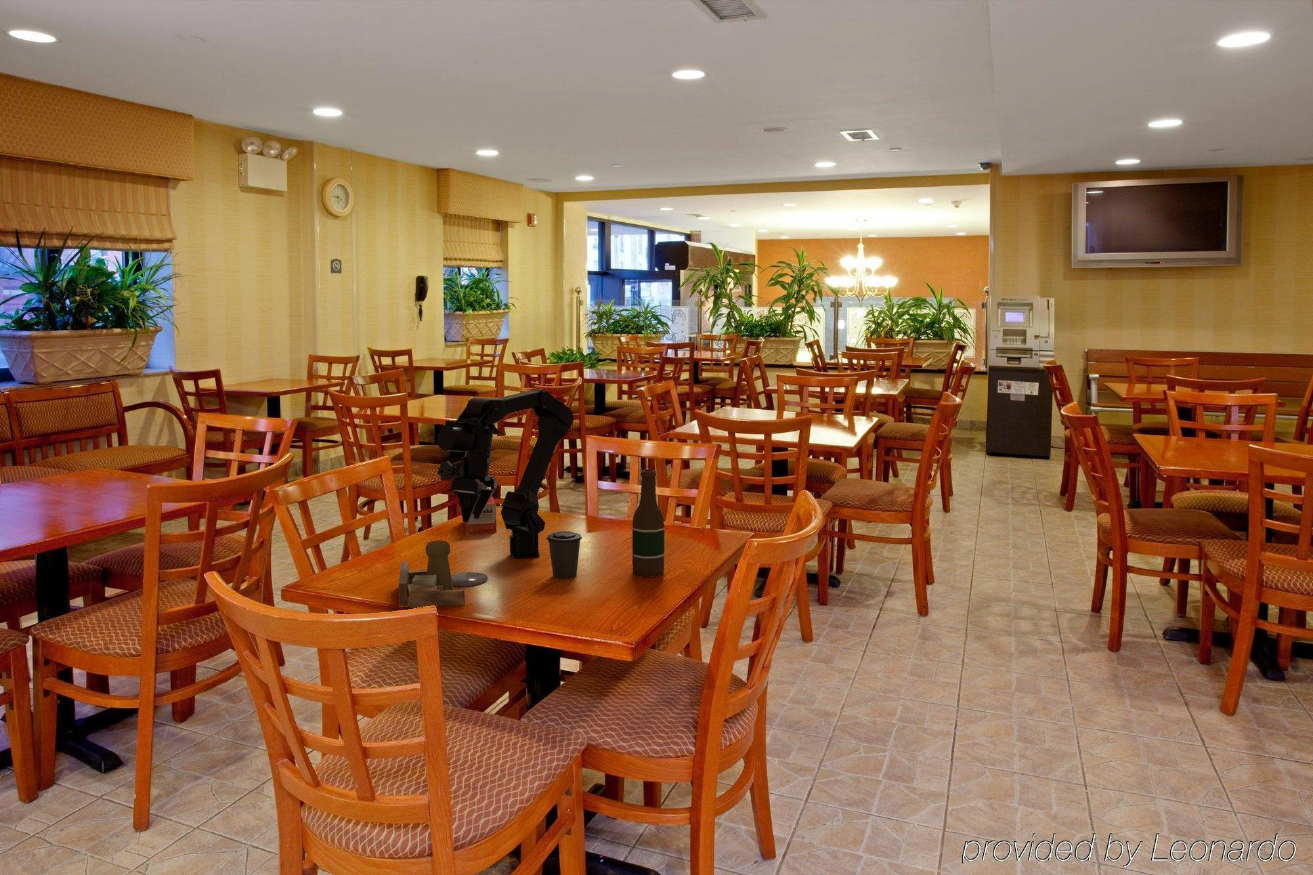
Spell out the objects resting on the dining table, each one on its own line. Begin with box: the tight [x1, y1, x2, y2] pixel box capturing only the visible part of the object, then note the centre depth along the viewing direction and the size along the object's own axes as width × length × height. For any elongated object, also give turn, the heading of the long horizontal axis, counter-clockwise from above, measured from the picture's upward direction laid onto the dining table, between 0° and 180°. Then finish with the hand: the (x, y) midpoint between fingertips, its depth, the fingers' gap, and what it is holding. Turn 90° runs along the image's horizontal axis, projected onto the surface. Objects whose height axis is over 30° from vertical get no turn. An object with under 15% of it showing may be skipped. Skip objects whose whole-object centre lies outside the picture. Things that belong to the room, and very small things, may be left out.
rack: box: [398, 561, 466, 609], centre depth 204 cm, size 13×17×5 cm
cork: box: [425, 539, 454, 590], centre depth 206 cm, size 6×6×11 cm
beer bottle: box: [631, 469, 665, 578], centre depth 219 cm, size 8×8×24 cm
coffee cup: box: [546, 530, 583, 580], centre depth 217 cm, size 8×8×10 cm
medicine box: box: [463, 495, 497, 535], centre depth 264 cm, size 15×8×8 cm, turn 15°
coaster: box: [451, 571, 489, 588], centre depth 214 cm, size 10×10×1 cm
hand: (470, 520), depth 220 cm, fingers open, 9 cm apart
